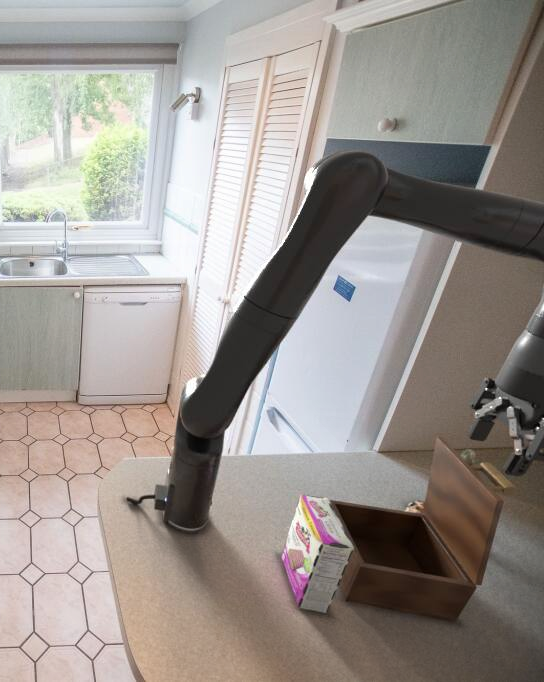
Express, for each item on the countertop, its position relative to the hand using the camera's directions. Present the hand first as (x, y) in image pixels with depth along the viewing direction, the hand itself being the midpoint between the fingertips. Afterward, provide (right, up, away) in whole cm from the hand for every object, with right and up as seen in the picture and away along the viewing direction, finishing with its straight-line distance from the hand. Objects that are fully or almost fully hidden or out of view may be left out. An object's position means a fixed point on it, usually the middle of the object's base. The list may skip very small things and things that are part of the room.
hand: (492, 455), depth 71 cm
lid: (0, -10, +6) cm, 12 cm away
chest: (-7, -26, +15) cm, 31 cm away
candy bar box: (-23, -27, +12) cm, 37 cm away
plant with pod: (+14, -20, +27) cm, 37 cm away
